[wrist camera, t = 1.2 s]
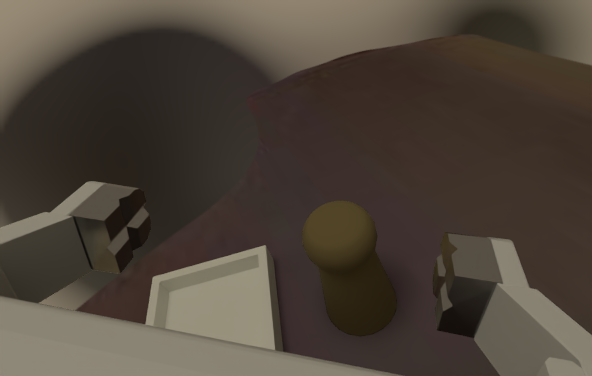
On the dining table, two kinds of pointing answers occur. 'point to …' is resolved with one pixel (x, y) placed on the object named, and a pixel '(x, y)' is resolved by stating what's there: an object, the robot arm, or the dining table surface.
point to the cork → (349, 267)
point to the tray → (221, 300)
